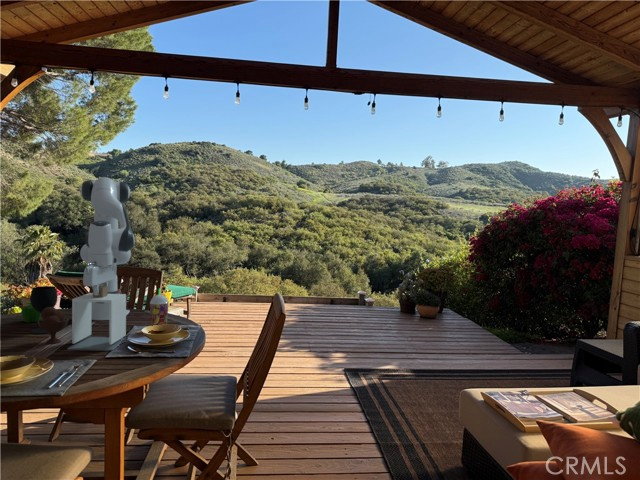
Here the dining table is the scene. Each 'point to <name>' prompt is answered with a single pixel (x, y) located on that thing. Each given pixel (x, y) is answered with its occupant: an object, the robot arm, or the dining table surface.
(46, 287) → the wine glass
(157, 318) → the smoothie
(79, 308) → the cover
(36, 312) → the bell pepper
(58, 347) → the dining table surface
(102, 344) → the mat
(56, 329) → the ice cream bowl
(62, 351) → the dining table surface
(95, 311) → the robot arm
